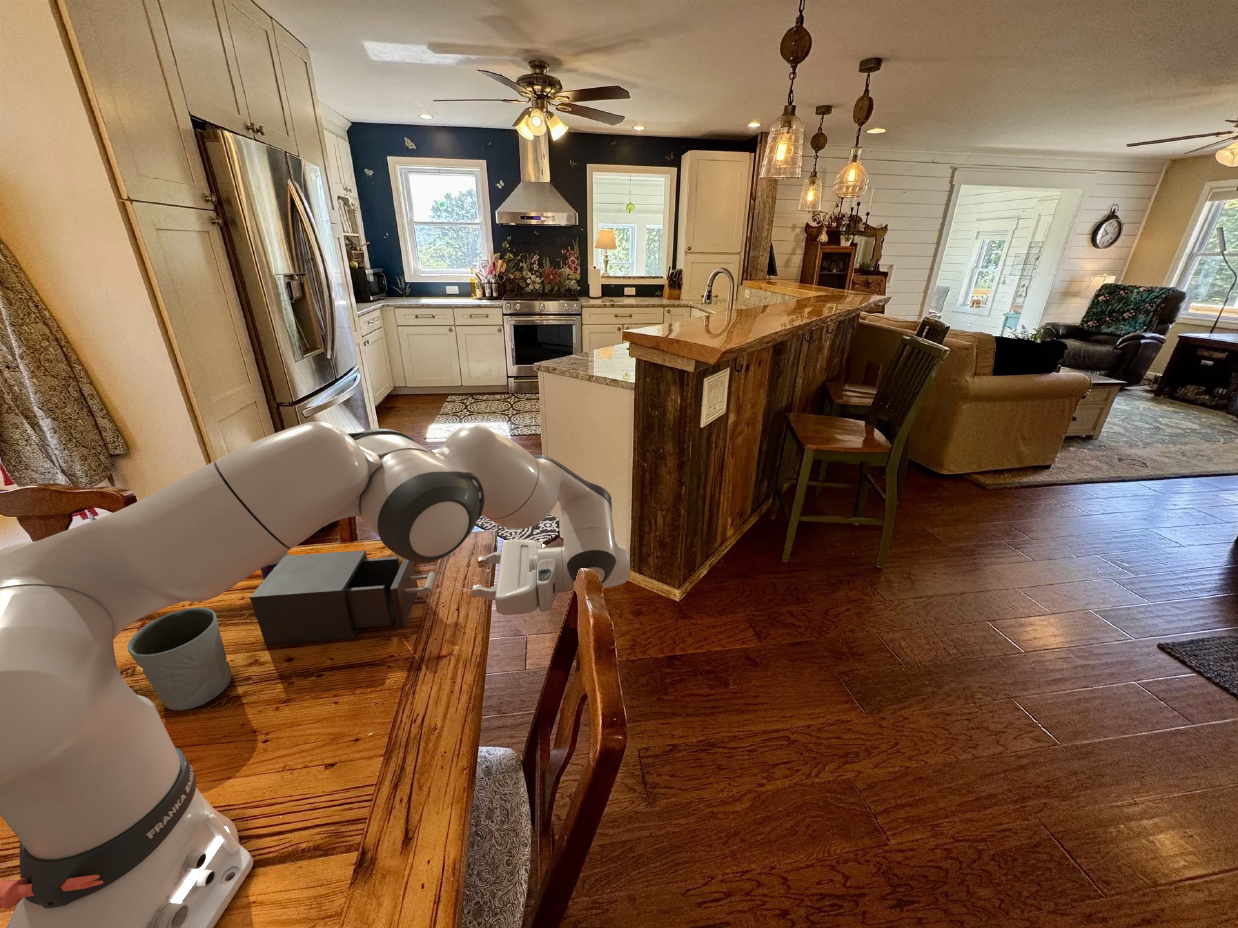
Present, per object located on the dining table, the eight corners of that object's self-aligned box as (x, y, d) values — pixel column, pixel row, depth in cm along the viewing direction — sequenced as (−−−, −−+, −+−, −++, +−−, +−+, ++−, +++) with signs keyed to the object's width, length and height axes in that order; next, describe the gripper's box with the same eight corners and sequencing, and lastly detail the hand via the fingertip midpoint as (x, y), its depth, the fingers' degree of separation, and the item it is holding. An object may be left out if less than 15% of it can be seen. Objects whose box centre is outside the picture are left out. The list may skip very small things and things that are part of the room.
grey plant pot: (230, 655, 84) (208, 598, 80) (245, 688, 78) (222, 628, 74) (152, 689, 78) (123, 630, 73) (161, 729, 71) (130, 666, 67)
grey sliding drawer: (443, 587, 101) (437, 551, 98) (431, 625, 91) (425, 586, 87) (348, 594, 99) (339, 557, 95) (325, 634, 88) (314, 594, 85)
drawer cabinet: (375, 594, 100) (365, 550, 96) (353, 638, 89) (341, 590, 85) (298, 600, 98) (284, 555, 94) (265, 646, 87) (249, 597, 83)
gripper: (545, 529, 105) (479, 534, 103) (547, 589, 86) (466, 595, 84) (547, 554, 107) (482, 559, 106) (548, 617, 89) (470, 624, 87)
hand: (475, 576), depth 95 cm, fingers open, 8 cm apart
